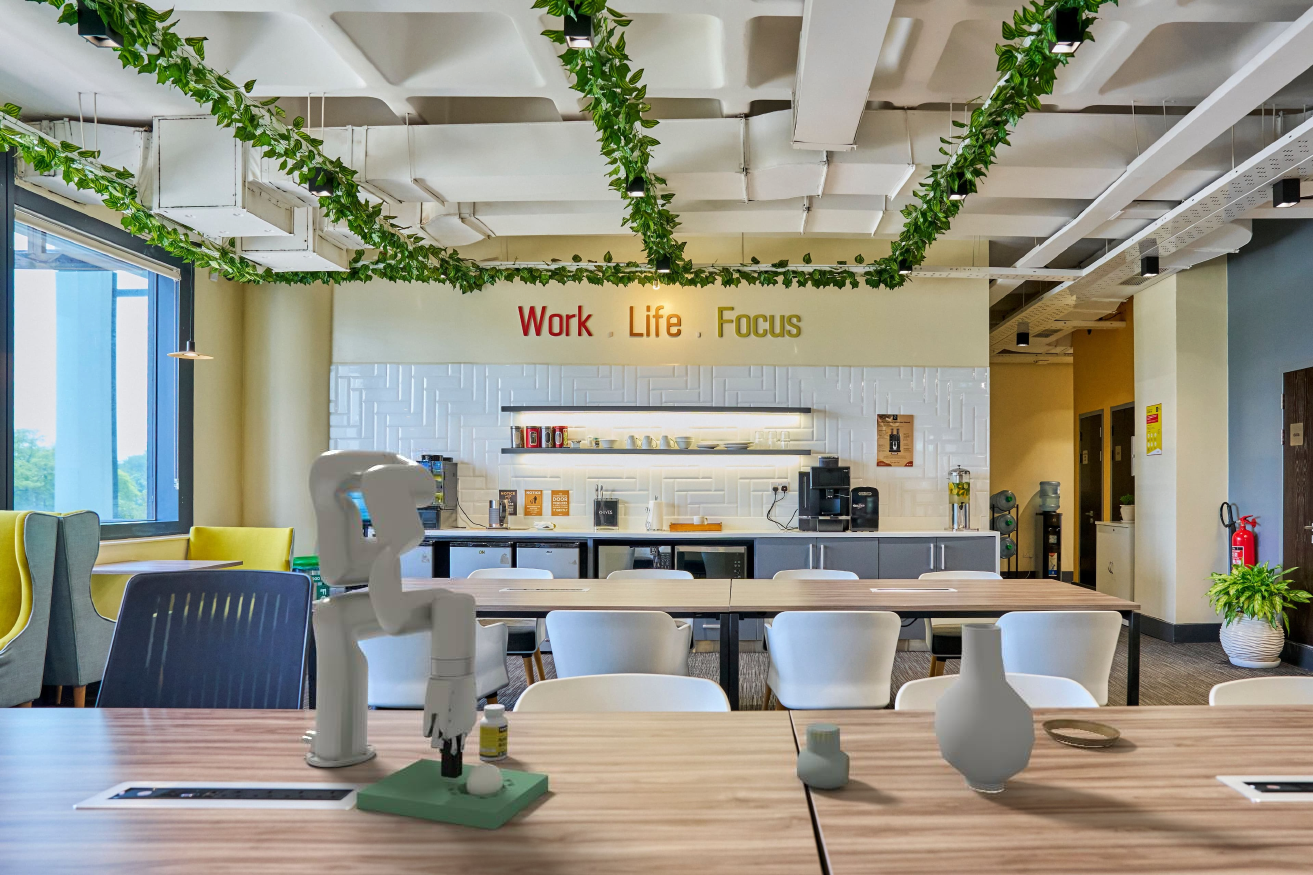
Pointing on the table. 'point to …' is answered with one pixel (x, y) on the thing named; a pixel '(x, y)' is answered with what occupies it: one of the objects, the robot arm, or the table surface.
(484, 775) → the ball
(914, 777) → the table surface
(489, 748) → the supplement bottle
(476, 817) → the mat
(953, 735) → the vase
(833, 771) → the air freshener
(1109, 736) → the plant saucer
